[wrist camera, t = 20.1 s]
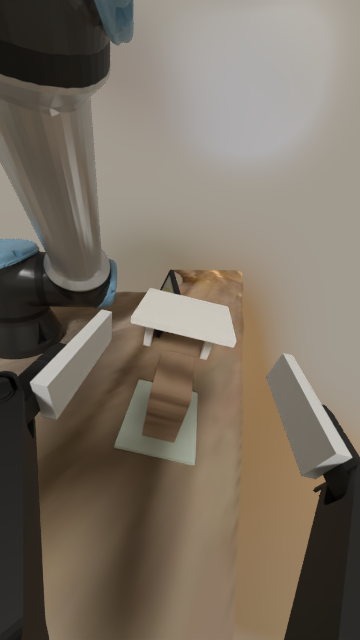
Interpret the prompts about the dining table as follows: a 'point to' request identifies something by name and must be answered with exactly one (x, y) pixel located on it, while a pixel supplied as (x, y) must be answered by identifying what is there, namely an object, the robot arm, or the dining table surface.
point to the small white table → (185, 319)
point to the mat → (135, 442)
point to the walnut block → (169, 396)
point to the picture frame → (169, 290)
